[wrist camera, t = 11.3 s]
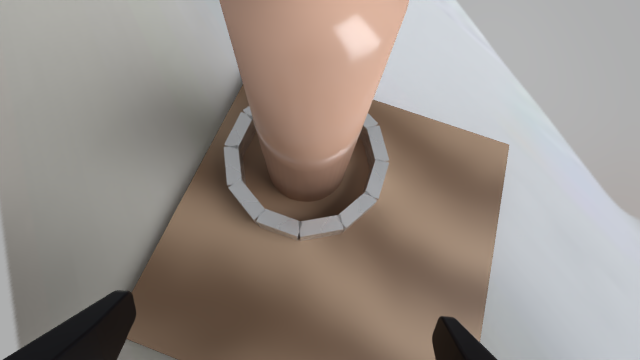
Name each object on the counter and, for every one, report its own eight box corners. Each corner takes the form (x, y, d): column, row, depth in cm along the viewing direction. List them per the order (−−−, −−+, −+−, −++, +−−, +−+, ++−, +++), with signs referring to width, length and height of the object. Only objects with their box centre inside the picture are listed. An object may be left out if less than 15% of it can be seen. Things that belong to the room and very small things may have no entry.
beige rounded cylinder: (356, 189, 19) (440, 34, 7) (279, 211, 18) (241, 78, 7) (331, 122, 20) (370, -93, 9) (259, 140, 19) (199, -69, 8)
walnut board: (452, 463, 15) (460, 472, 14) (119, 330, 16) (110, 332, 15) (501, 149, 21) (509, 144, 20) (257, 68, 22) (255, 60, 21)
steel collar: (355, 262, 17) (360, 259, 16) (204, 206, 18) (195, 199, 16) (396, 126, 20) (403, 114, 19) (266, 82, 21) (263, 67, 19)
